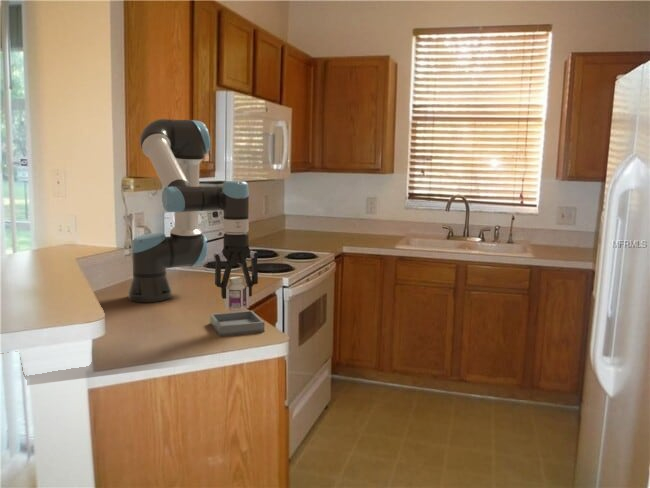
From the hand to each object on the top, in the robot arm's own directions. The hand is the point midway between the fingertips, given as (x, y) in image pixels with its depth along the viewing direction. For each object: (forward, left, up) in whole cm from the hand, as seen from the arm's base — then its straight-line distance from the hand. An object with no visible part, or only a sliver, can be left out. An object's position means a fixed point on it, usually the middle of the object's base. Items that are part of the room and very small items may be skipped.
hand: (236, 307), depth 172 cm
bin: (0, 0, -6) cm, 6 cm away
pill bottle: (0, 0, -1) cm, 1 cm away
